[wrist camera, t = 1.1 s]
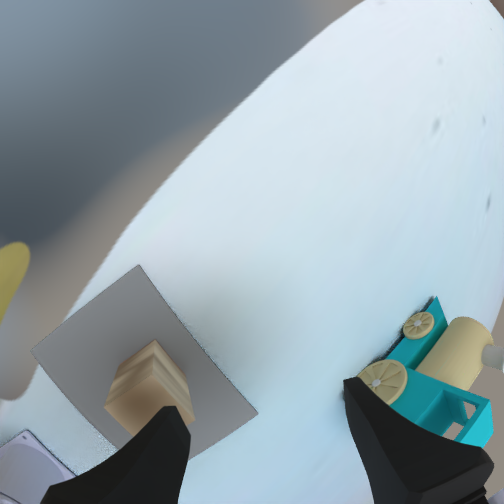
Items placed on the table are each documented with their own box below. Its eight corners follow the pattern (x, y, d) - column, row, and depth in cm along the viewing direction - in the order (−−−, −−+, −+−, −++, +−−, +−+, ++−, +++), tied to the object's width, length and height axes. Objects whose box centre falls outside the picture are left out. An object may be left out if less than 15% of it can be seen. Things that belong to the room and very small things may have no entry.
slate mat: (154, 476, 22) (154, 479, 22) (31, 349, 20) (29, 350, 19) (256, 411, 25) (258, 413, 25) (139, 264, 23) (138, 264, 22)
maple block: (149, 399, 22) (147, 449, 15) (119, 365, 22) (103, 407, 14) (185, 375, 23) (195, 420, 16) (155, 338, 23) (151, 374, 15)
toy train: (446, 333, 33) (537, 354, 19) (364, 428, 29) (451, 489, 15) (429, 290, 32) (534, 302, 17) (336, 393, 28) (438, 462, 14)
